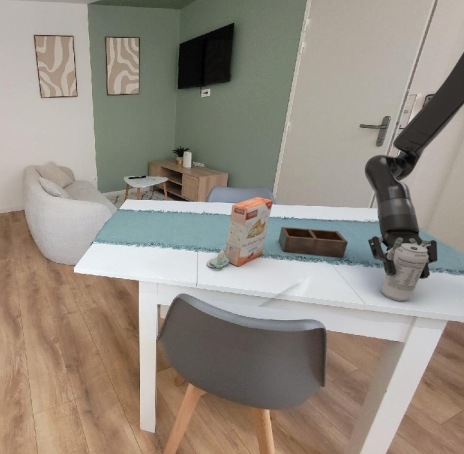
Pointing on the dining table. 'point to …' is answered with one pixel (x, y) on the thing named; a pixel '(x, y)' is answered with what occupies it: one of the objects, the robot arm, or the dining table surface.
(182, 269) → the dining table surface
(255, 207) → the cracker box
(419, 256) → the energy drink can
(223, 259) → the pacifier
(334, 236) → the wooden box with compartments
